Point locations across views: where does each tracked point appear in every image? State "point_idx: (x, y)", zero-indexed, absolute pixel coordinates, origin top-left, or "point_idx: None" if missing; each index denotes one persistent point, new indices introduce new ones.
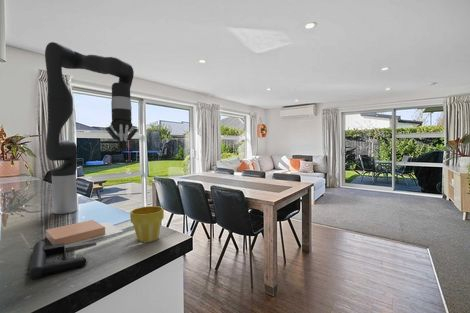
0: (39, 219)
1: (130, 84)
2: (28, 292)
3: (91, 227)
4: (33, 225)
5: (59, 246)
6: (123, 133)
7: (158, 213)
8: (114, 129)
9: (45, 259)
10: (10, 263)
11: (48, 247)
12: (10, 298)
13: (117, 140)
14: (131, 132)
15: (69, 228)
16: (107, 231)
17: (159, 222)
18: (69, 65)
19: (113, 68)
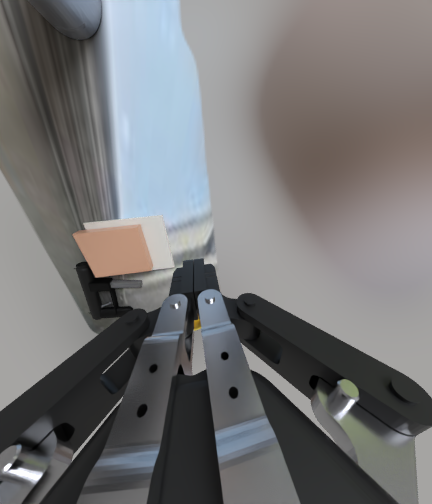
0: (12, 51)
1: None
2: (100, 324)
3: (135, 262)
4: (23, 117)
5: (105, 289)
6: (223, 356)
7: (196, 328)
8: (82, 459)
9: (98, 302)
10: (66, 278)
11: (94, 288)
12: (91, 325)
13: (160, 308)
14: (302, 378)
15: (106, 248)
16: (157, 257)
17: (198, 316)
18: None
19: None
